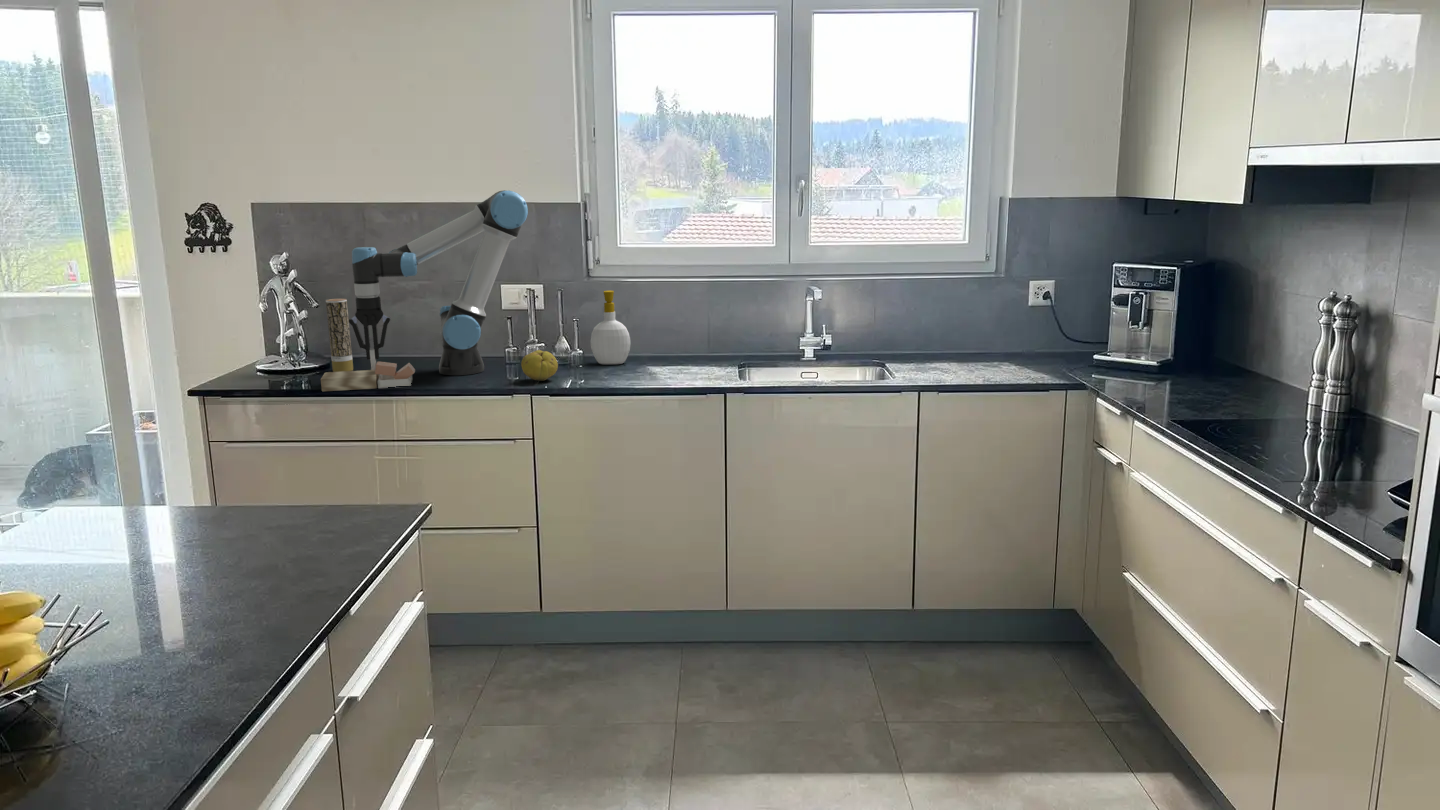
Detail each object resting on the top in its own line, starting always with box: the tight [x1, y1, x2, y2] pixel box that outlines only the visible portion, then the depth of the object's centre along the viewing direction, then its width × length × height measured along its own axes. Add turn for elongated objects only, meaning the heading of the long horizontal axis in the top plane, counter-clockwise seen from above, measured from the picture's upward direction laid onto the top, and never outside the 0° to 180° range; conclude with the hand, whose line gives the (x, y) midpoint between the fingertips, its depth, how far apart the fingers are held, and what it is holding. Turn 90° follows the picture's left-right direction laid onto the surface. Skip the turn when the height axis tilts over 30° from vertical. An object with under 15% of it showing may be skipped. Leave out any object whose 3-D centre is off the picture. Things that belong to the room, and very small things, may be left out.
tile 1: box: [375, 360, 398, 376], centre depth 326 cm, size 6×6×3 cm
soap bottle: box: [589, 290, 631, 366], centre depth 356 cm, size 14×9×26 cm, turn 88°
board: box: [320, 369, 380, 392], centre depth 324 cm, size 16×11×4 cm, turn 104°
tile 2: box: [394, 362, 416, 379], centre depth 328 cm, size 6×6×3 cm
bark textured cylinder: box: [325, 298, 354, 372], centre depth 346 cm, size 7×7×25 cm
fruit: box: [520, 349, 559, 382], centre depth 329 cm, size 11×12×10 cm
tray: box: [377, 374, 413, 389], centre depth 327 cm, size 10×12×2 cm
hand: (373, 369), depth 325 cm, fingers closed
